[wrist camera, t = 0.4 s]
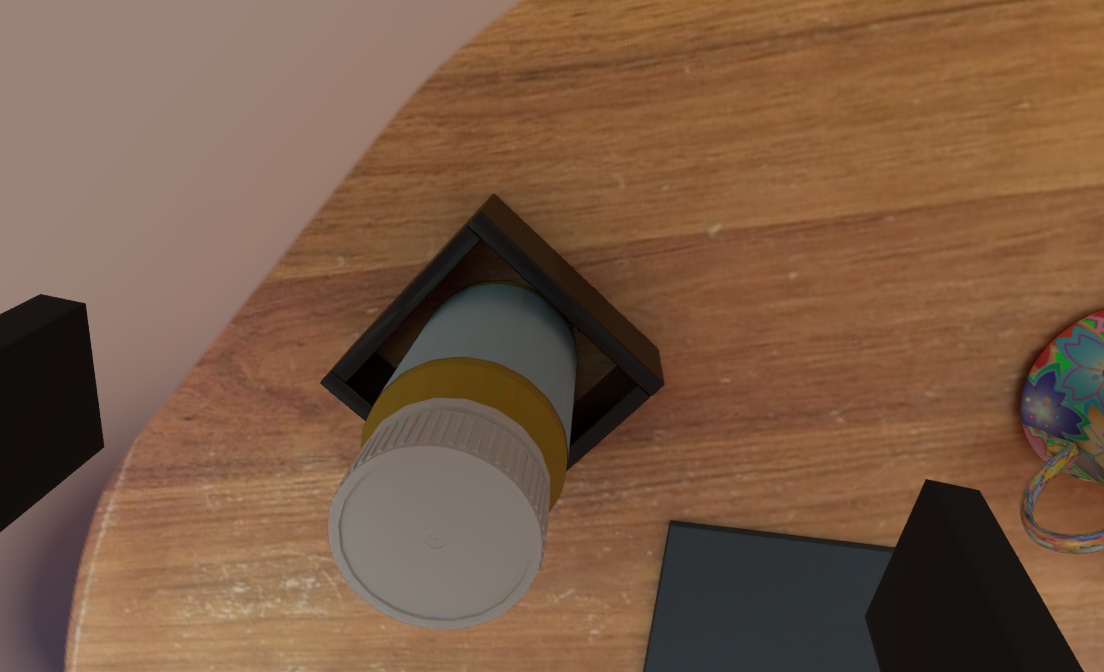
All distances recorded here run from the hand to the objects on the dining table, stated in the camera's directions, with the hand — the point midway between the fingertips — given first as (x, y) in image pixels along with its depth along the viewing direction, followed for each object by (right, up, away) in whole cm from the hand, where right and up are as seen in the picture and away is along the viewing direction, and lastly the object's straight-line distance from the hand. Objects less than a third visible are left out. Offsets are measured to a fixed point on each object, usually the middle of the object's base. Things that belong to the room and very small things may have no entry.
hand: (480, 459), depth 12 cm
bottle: (-1, +1, +24) cm, 24 cm away
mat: (+13, -14, +28) cm, 35 cm away
